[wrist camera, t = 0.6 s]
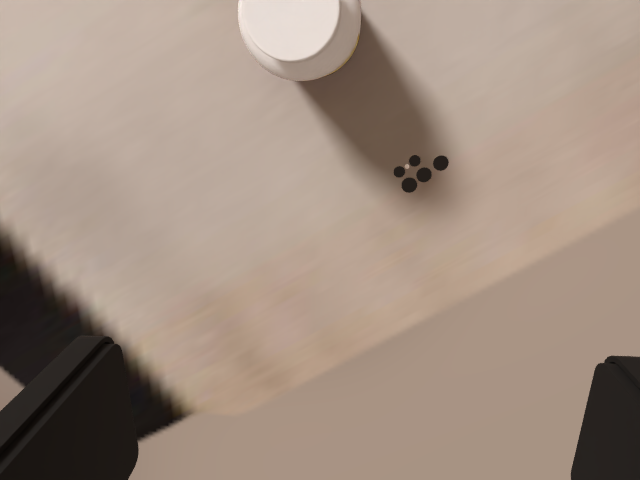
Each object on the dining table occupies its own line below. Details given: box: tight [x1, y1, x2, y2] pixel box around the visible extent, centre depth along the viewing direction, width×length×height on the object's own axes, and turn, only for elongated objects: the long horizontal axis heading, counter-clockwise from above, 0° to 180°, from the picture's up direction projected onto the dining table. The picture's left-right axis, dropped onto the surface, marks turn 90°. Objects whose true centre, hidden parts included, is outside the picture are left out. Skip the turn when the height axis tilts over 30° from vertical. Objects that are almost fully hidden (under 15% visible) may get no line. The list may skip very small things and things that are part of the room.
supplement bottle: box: [238, 0, 361, 81], centre depth 28 cm, size 7×7×13 cm
